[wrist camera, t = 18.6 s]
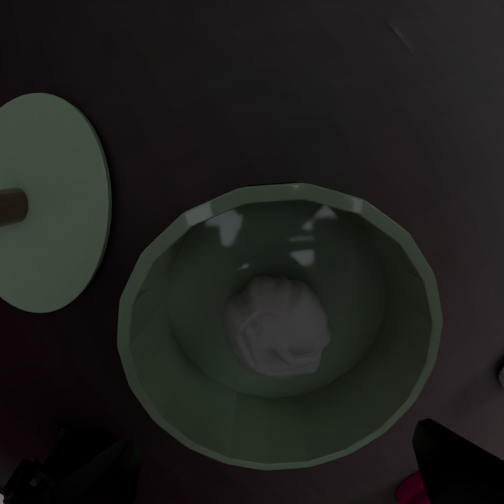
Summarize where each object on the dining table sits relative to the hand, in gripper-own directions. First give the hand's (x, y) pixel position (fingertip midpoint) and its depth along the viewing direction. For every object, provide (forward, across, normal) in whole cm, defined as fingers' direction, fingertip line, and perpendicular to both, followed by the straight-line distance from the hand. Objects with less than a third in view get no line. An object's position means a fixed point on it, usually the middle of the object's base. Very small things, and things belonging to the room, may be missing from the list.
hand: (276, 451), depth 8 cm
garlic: (+11, 0, 0) cm, 11 cm away
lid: (+10, +16, -8) cm, 21 cm away
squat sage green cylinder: (+11, 0, 0) cm, 11 cm away
